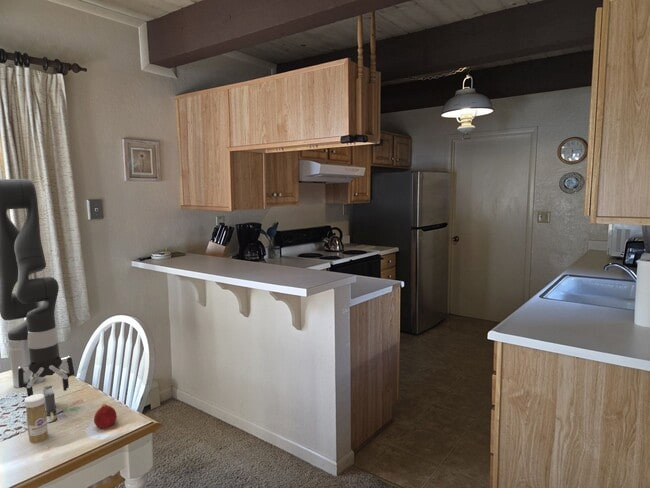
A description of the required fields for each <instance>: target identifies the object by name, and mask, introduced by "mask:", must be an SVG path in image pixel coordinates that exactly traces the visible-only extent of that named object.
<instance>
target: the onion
mask: <svg viewBox="0 0 650 488" xmlns="http://www.w3.org/2000/svg"><path fill="white" fill-rule="evenodd" d="M93 418H94V419H93V422H94V425H95V427H97V428H99V429H101V430H102V429H108V428H111V427H113V426H114V425H115V422H116V421H117V418H118V415H117V412H116V409H115V408H114V407H113V406H110V405H107V404H106V403H105V402H102V405H101V407H99V409H97V411H96V412H95V414H94V417H93Z"/></svg>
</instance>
